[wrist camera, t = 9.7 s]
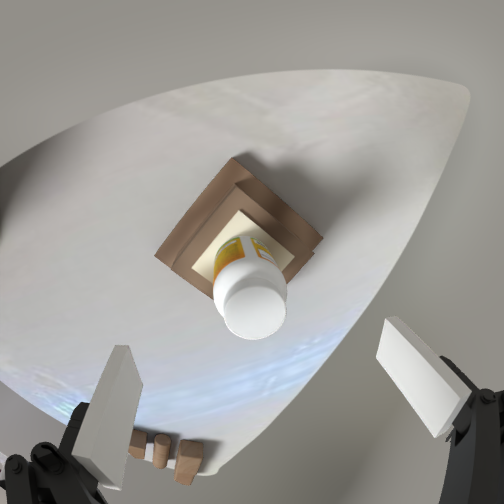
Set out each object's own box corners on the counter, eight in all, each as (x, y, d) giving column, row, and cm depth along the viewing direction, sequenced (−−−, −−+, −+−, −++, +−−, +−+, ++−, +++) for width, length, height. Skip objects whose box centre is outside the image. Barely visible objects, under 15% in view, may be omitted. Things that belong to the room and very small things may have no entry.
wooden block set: (204, 461, 40) (191, 489, 44) (204, 439, 45) (191, 471, 50) (115, 442, 36) (120, 475, 41) (121, 421, 42) (124, 458, 46)
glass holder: (6, 462, 51) (-2, 483, 37) (29, 479, 55) (22, 500, 41) (2, 461, 51) (-7, 481, 37) (24, 478, 56) (17, 498, 42)
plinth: (157, 250, 32) (142, 272, 25) (231, 157, 30) (234, 155, 23) (245, 313, 36) (251, 346, 29) (317, 233, 34) (341, 251, 27)
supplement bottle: (213, 287, 27) (212, 349, 17) (214, 233, 25) (212, 274, 16) (268, 288, 27) (291, 347, 18) (273, 235, 26) (303, 275, 16)
